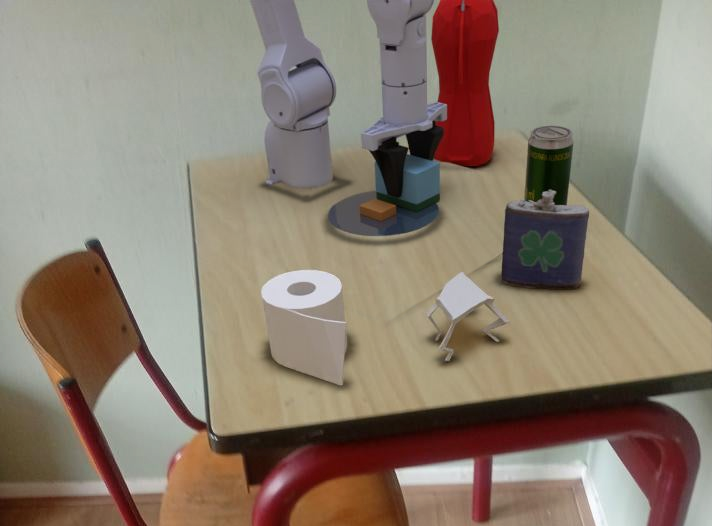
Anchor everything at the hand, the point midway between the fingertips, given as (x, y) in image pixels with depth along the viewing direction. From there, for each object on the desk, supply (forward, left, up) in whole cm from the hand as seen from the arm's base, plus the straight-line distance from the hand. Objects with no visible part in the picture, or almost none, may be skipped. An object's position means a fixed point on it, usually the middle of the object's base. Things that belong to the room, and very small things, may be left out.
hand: (407, 189), depth 110 cm
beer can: (+19, +5, -3) cm, 20 cm away
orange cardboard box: (0, -6, -1) cm, 6 cm away
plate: (0, -5, -2) cm, 5 cm away
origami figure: (+27, -21, -3) cm, 34 cm away
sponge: (0, 0, -1) cm, 1 cm away
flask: (+27, -7, -3) cm, 28 cm away
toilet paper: (+18, -35, -3) cm, 39 cm away
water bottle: (-5, +18, -3) cm, 19 cm away
